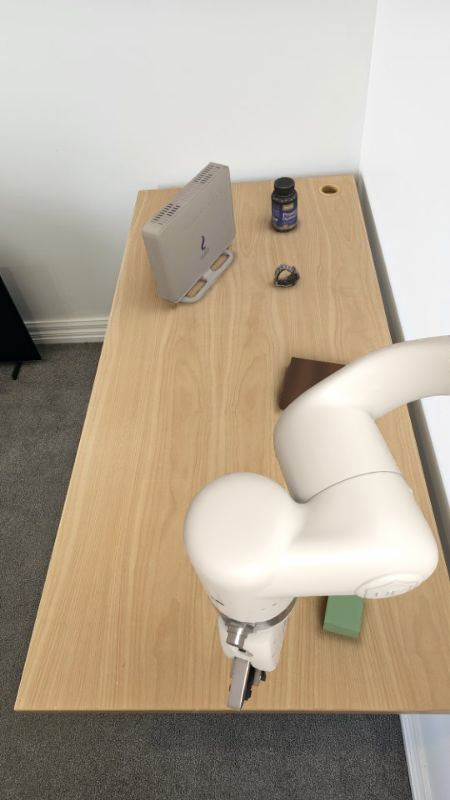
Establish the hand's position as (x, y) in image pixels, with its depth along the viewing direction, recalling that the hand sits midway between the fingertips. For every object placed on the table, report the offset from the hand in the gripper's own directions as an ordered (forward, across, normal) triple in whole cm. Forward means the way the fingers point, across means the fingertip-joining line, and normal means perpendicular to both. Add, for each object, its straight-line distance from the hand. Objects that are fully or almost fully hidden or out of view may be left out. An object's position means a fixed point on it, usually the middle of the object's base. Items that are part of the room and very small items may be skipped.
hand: (262, 624), depth 54 cm
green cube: (+16, +7, -9) cm, 20 cm away
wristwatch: (+17, +72, +13) cm, 75 cm away
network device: (+17, +71, +33) cm, 80 cm away
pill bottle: (+17, +92, +18) cm, 95 cm away
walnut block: (+16, +44, +1) cm, 47 cm away
